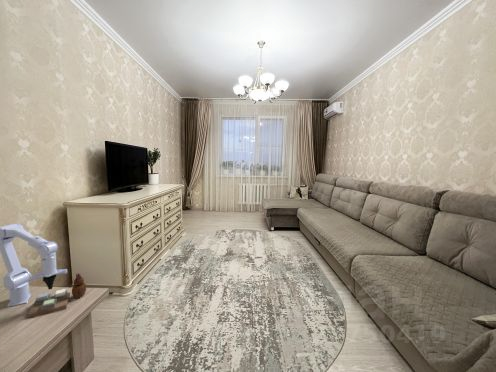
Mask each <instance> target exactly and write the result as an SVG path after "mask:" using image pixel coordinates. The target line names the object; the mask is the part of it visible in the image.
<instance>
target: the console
mask: <svg viewBox="0 0 496 372" xmlns="http://www.w3.org/2000/svg"><path fill="white" fill-rule="evenodd" d="M70 297H71V292H68V290H67V289H66V293H65V295H62V296H57V297H55V294H53V295H51V293H49V297H48V299H44V300H39V301H37V298H36V299H35V301H34V303H33V304H32V307H31V308H30V310H29V311H28V314H27V317H28V319H30V318H35V317H39V316H42V315H47V314H51V313H54V312H59V311H63V310H67V308H68V304H69V300H70ZM51 299H55V302H54V304H50V305H46V306H43V304H44V302H45V301H46V300H51Z"/></svg>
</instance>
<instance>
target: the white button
mask: <svg viewBox="0 0 496 372" xmlns="http://www.w3.org/2000/svg"><path fill="white" fill-rule="evenodd" d="M66 290H67V289H66V288H62V289H58V290H56V291H55V293H54V295H55V297H57V296H62V295H65V293H66Z"/></svg>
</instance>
